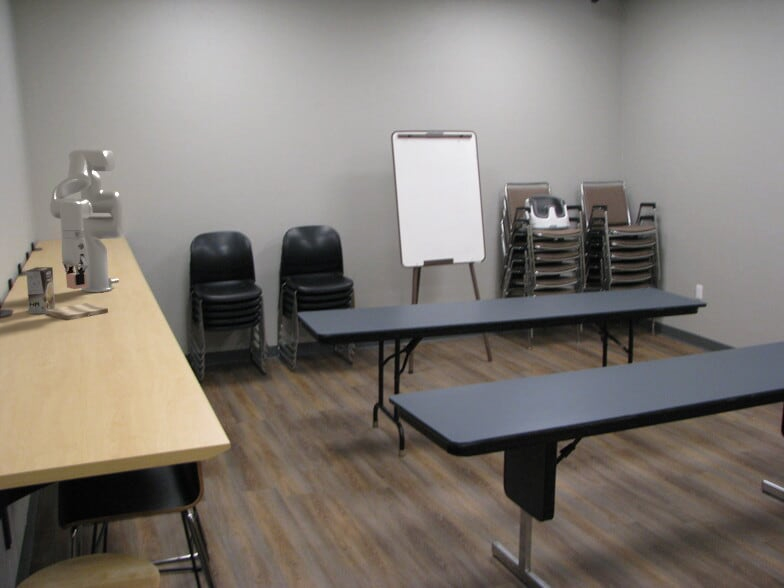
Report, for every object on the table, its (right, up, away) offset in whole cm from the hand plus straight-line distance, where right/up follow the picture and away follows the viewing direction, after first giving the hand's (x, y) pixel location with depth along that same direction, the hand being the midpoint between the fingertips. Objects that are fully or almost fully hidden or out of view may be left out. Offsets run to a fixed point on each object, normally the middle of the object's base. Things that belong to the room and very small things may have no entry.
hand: (75, 283), depth 272 cm
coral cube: (0, -1, +1) cm, 2 cm away
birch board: (0, -11, +3) cm, 11 cm away
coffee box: (-14, -11, +5) cm, 18 cm away
